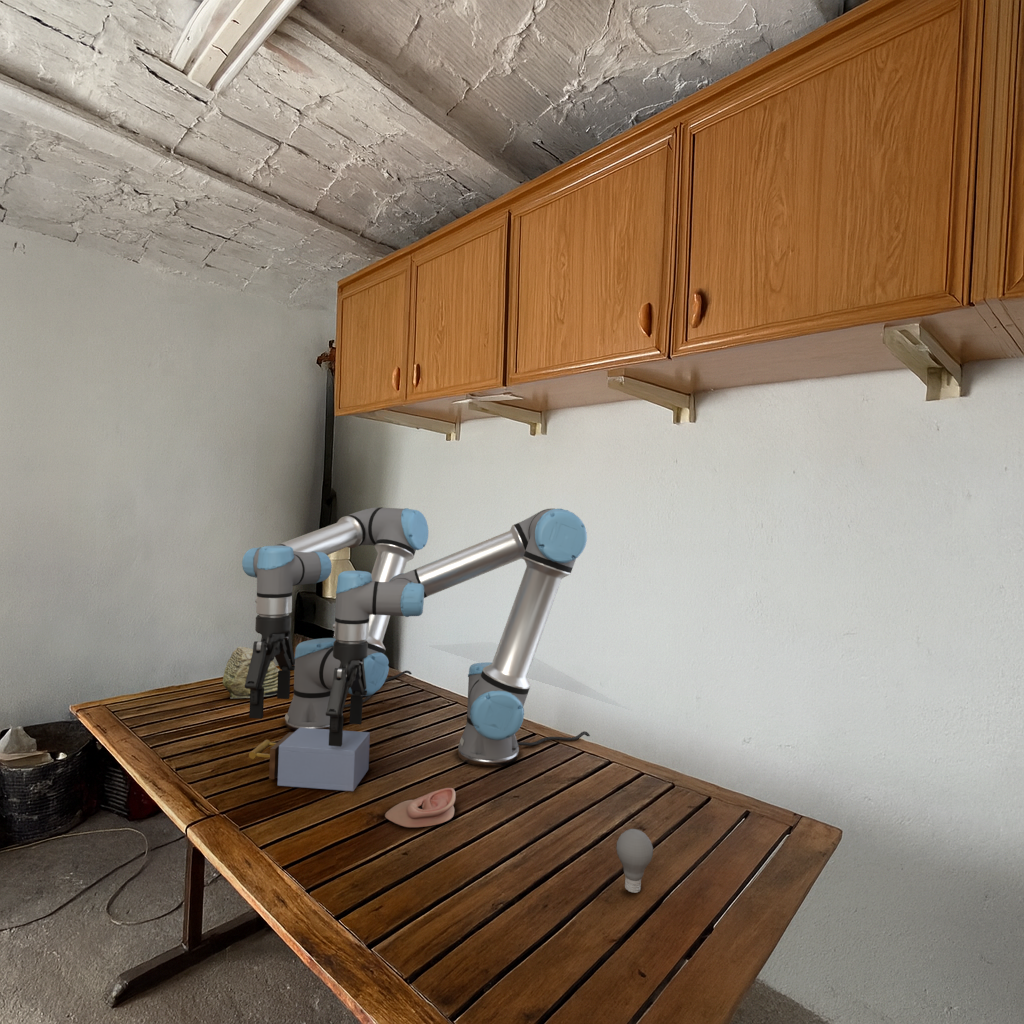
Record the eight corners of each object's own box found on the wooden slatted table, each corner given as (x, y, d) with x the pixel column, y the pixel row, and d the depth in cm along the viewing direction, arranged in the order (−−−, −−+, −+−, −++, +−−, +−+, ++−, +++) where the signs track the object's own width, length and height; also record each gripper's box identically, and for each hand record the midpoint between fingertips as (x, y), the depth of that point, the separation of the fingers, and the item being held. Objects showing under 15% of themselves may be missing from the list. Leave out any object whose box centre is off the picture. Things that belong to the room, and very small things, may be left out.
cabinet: (277, 785, 138) (278, 745, 138) (298, 764, 149) (299, 727, 149) (353, 791, 137) (354, 751, 137) (368, 769, 148) (369, 732, 148)
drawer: (245, 777, 139) (246, 746, 139) (265, 758, 149) (266, 730, 149) (338, 784, 138) (339, 753, 138) (352, 765, 148) (353, 736, 148)
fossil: (218, 695, 195) (220, 647, 195) (278, 685, 208) (279, 640, 207) (228, 703, 189) (230, 653, 188) (289, 692, 201) (290, 645, 201)
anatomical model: (379, 803, 124) (401, 778, 135) (378, 823, 124) (400, 796, 135) (444, 812, 121) (461, 786, 132) (443, 833, 121) (460, 805, 132)
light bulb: (610, 879, 108) (613, 822, 108) (644, 879, 109) (647, 822, 109) (619, 902, 102) (622, 840, 102) (655, 901, 103) (658, 840, 103)
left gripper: (281, 604, 156) (278, 690, 156) (229, 624, 131) (225, 725, 132) (311, 606, 155) (308, 692, 156) (264, 626, 131) (260, 728, 131)
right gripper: (352, 628, 155) (347, 714, 155) (313, 651, 130) (307, 754, 130) (382, 630, 154) (377, 716, 155) (349, 654, 129) (343, 757, 130)
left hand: (270, 707), depth 144 cm, fingers open, 13 cm apart
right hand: (345, 734), depth 142 cm, fingers open, 13 cm apart
